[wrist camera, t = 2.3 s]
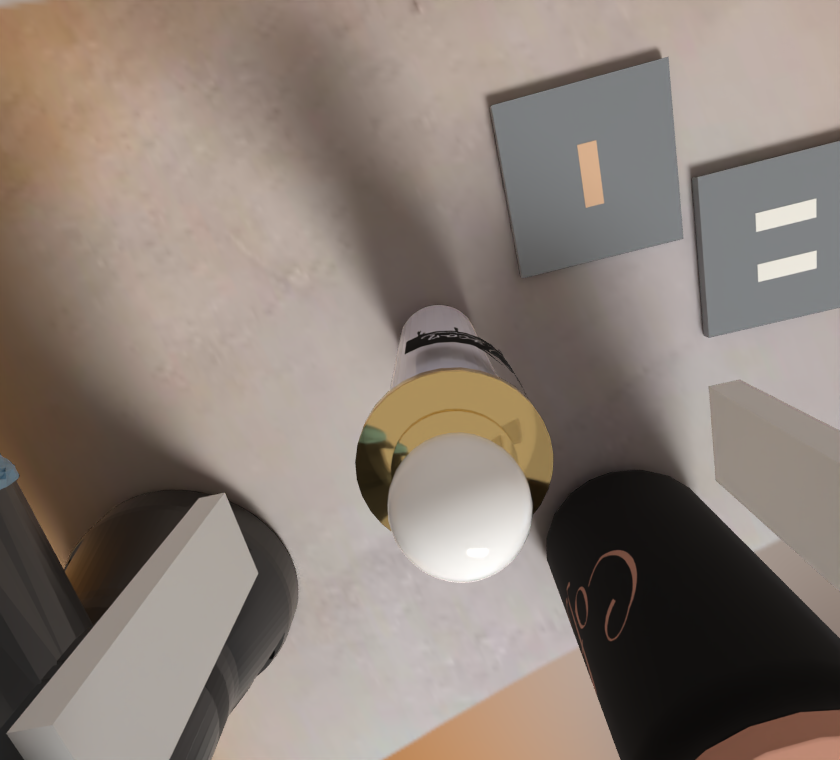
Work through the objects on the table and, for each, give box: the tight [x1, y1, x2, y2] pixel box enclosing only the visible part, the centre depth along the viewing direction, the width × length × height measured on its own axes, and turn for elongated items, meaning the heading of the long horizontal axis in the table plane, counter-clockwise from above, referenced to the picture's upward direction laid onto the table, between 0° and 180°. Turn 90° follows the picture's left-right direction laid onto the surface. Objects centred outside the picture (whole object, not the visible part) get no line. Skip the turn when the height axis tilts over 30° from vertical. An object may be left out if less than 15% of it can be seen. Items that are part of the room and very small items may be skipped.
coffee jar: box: [547, 470, 840, 760], centre depth 25 cm, size 11×11×18 cm
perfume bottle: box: [355, 305, 553, 583], centre depth 20 cm, size 6×6×20 cm
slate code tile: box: [692, 140, 840, 338], centre depth 28 cm, size 9×9×1 cm
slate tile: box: [490, 57, 683, 278], centre depth 27 cm, size 9×9×1 cm
